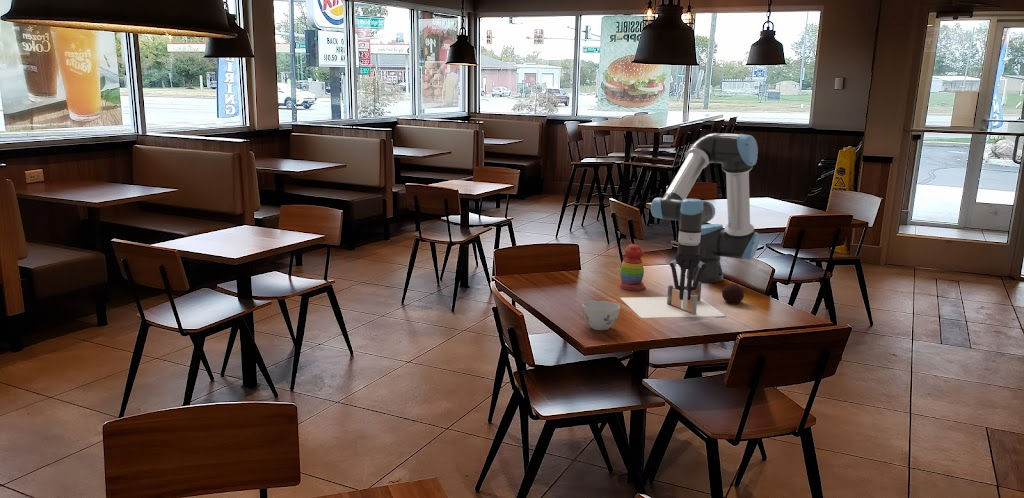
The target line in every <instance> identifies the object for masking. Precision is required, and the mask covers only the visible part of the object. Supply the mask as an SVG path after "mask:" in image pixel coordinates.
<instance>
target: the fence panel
mask: <svg viewBox="0 0 1024 498" xmlns="http://www.w3.org/2000/svg"><path fill="white" fill-rule="evenodd" d="M681 303H682V300H680V299H679V290H676V289H672V299H671V305H673V306H676V307H678V308H681ZM681 309H682V308H681ZM696 309H697V295H693V296H692V295H691V296H690V300H687V310H686V311H688V312H691V313H692V314H696Z"/></svg>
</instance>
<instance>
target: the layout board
mask: <svg viewBox="0 0 1024 498" xmlns="http://www.w3.org/2000/svg"><path fill="white" fill-rule="evenodd" d="M620 300H622V302H624V303H625V304H626V305H627V306H628V307H629V308H630V309H631V310H632V311H633V312H634V313H635V314H636V315H637V316H638V317H639V318H640V319H647V318H649V319H652V318H653V319H654V318H659V319H660V318H691V317H694V318H695V317H696V318H697V317H698V318H699V317H702V318H703V317H704V318H705V317H714V318H715V319H716V318H717V319H719V318H720V319H721V318H727V316H726V315H725V314H724V313H723V312H722V311H720V310H718V309H717V308H715V307H714V306H713V305H711V304H710V303H708V302H706V301H705V300H704V299H702V298H701V297H700V300H697V309H696V314H692V313H691V312H688V311H686V310H682V309H681V308H678V307H676V306H673V305H669V304H667V296H647V297H646V296H642V297H641V296H639V297H638V296H636V297H620Z"/></svg>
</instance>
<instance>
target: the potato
mask: <svg viewBox="0 0 1024 498" xmlns="http://www.w3.org/2000/svg"><path fill="white" fill-rule="evenodd" d="M721 296H722V299H723V300H724V301H725V302H727V303H728V304H731V305H738V304H740V303H741V302H743V300H744V298H745V293H744V290H743V288H742V287H741V286H740V285H739V284H737V283H728V284H727V285H725V286H724V287H722V291H721Z"/></svg>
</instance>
